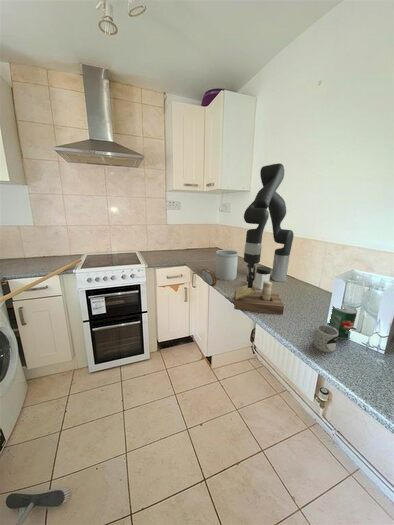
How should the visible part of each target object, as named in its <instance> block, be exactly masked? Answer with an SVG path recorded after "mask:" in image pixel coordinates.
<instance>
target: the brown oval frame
mask: <svg viewBox="0 0 394 525" xmlns="http://www.w3.org/2000/svg"><path fill="white" fill-rule="evenodd" d="M201 278H202V280H203V282H204V283H205V284H207V285H208V286H211V287H213V286H216V285H217V282H218V281H217V280H218V279H217V278H216V273H215V272H213V270H210V269H209V268H203V269H202V270H201Z"/></svg>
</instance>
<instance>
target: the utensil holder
mask: <svg viewBox="0 0 394 525" xmlns="http://www.w3.org/2000/svg"><path fill="white" fill-rule="evenodd" d="M239 255H240V254H239V251H237V250H233V249H219V250H216V251H215V275H216V279H217V280H220V281H227V282H228V281H234V280H236V279H237V274H238V261H239V258H238V257H239Z"/></svg>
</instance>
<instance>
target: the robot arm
mask: <svg viewBox="0 0 394 525" xmlns="http://www.w3.org/2000/svg"><path fill="white" fill-rule="evenodd" d="M259 172H260V181H261V184H262V188H260V189H259V191H258V192H257V193H256V196H255V197H254V198H255V199H254V200H253V201H252V202H251V203H250V205H248V207H247V208H246V209H245V211H244V213H243V219H244V222H245V223H246V224H248V225H249V224H251V225H252V224H253V225H258V226H257V227H256V228H250V229H247V231H246V236H245V245H244V250H243V252H244V253H243V262H244V263H246V282H247V285H248V286H247V287H248V288H252V286H253V282H255V277H256V269H257V267H256V265H255V264H259V263H260V262H261V255H262V240H263V233H264V230H265V227H266V225H267V222H268V220H269V217H270V220H271V226H272V227H271V228H272V236H273V240H274V243H276V244H280V245H283V246H282V247H279V248H276V249H274V255H273V262H272V268H271V269H272V270H271V276H270V278H271V281H272V280H273V281H274V282H278V283H279V282H281V283H283V282H284V283H285V282H286V281H287V276H288V268H289V263H290V255H291V250H292V246H293V241H294V235H295V234H294V231H293V230H292V229H284V228H281V223H282V222H283V220H284V219H285V217H286V216H287V206H286V201H285V200H284V198H283V197H282V196H281V195H280V194H279V193H278V192H277V189H279V187H280V185H281V184H282V182H283V180H284V179H285V178H284V177H285V167H284V165H283V164H282V163H279V162H278V163H273V164H268V165H263V166H262V167H261V168H260V171H259Z"/></svg>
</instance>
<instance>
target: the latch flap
mask: <svg viewBox="0 0 394 525" xmlns="http://www.w3.org/2000/svg"><path fill="white" fill-rule="evenodd" d="M247 286H248V284H245V285H243V286H241V287H238V288H236V289H235V290H236V300H238V299H240V298H243V297H245V296H247V295H250V294H252V293H255V292H257V288H255V281H253V286H252V288H248V287H247Z"/></svg>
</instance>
